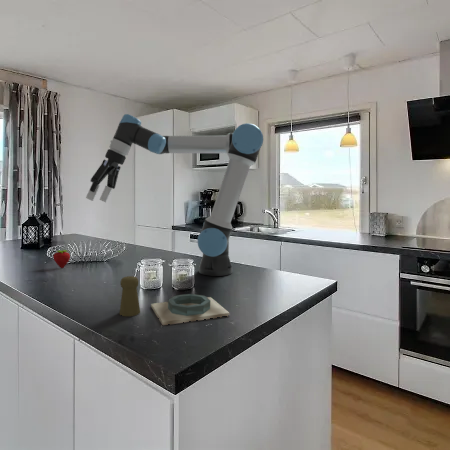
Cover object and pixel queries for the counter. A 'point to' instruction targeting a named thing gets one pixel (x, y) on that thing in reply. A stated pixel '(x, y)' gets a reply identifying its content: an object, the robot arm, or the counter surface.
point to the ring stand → (188, 309)
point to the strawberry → (61, 258)
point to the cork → (129, 297)
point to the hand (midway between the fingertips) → (96, 200)
